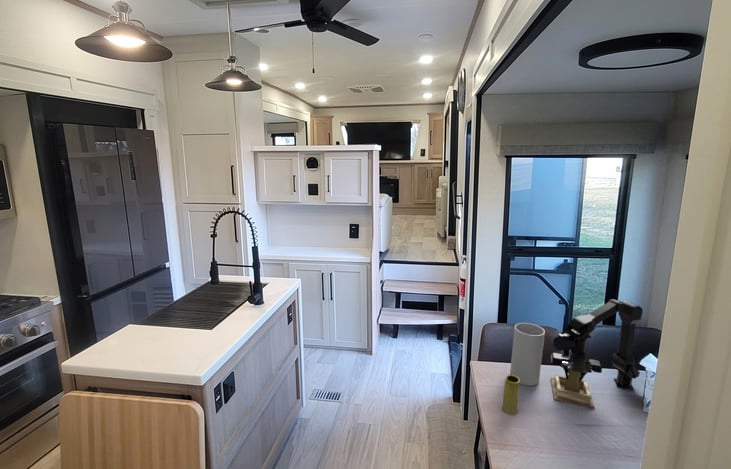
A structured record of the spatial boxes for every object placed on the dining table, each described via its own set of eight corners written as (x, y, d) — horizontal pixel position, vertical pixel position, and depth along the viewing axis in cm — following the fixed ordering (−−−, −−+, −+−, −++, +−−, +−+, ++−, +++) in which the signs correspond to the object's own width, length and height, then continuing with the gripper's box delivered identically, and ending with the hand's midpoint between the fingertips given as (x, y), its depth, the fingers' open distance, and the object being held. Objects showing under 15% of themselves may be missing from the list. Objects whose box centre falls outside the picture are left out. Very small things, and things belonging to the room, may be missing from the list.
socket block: (550, 379, 174) (551, 371, 174) (587, 386, 169) (588, 378, 168) (553, 399, 160) (554, 391, 159) (594, 408, 155) (595, 400, 154)
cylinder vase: (509, 382, 172) (514, 332, 166) (510, 368, 183) (515, 321, 178) (539, 389, 167) (545, 337, 162) (538, 374, 178) (544, 325, 173)
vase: (517, 407, 155) (521, 376, 152) (517, 416, 149) (520, 385, 146) (502, 403, 157) (505, 373, 154) (500, 412, 152) (503, 381, 149)
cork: (581, 395, 161) (585, 372, 158) (566, 393, 162) (569, 370, 160) (577, 387, 167) (580, 364, 164) (562, 385, 168) (565, 363, 165)
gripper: (555, 352, 156) (551, 385, 159) (607, 361, 149) (601, 396, 153) (552, 340, 166) (548, 371, 169) (601, 348, 159) (596, 380, 163)
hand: (573, 380), depth 163 cm, fingers closed on cork, 5 cm apart
